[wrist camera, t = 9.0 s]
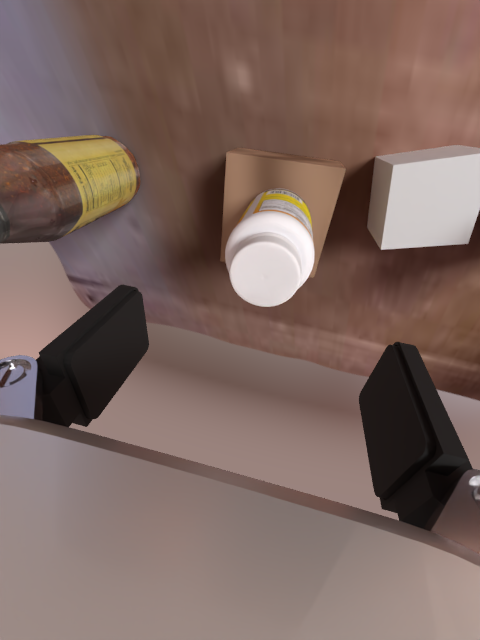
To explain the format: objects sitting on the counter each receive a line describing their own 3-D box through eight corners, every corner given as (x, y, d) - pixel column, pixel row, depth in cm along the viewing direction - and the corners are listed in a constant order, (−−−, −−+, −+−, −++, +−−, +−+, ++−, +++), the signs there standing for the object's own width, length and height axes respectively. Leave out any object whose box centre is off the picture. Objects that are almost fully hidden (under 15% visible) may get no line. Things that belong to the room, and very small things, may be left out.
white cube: (456, 144, 22) (499, 150, 17) (436, 221, 25) (468, 243, 20) (375, 156, 23) (393, 165, 18) (366, 227, 26) (380, 249, 22)
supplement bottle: (260, 262, 25) (240, 328, 17) (234, 204, 23) (195, 250, 15) (320, 240, 23) (329, 303, 15) (298, 173, 20) (295, 206, 12)
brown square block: (339, 161, 24) (346, 168, 20) (312, 256, 29) (313, 277, 25) (239, 147, 24) (226, 152, 20) (231, 242, 30) (220, 261, 26)
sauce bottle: (86, 188, 29) (-163, 264, 14) (87, 122, 26) (-259, 121, 10) (143, 213, 30) (-36, 314, 14) (151, 151, 26) (-80, 195, 10)
